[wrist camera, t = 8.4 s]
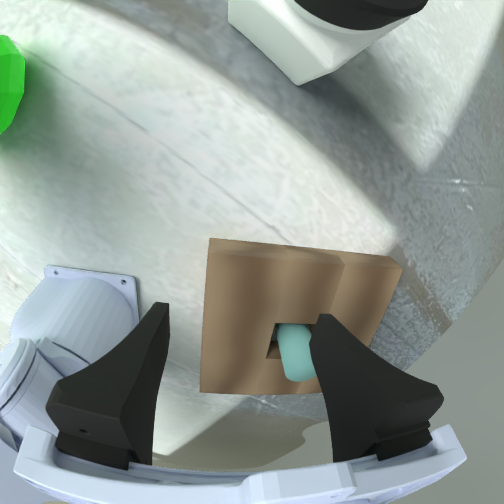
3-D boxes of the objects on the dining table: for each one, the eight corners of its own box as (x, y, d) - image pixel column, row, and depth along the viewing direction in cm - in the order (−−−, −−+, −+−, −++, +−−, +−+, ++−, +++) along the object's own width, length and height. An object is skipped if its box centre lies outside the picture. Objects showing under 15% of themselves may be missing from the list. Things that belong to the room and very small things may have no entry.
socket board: (200, 374, 29) (199, 392, 26) (209, 237, 22) (208, 252, 19) (337, 374, 31) (343, 390, 29) (389, 256, 24) (402, 269, 22)
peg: (272, 334, 27) (282, 382, 21) (275, 310, 25) (287, 358, 20) (302, 333, 27) (317, 379, 22) (307, 309, 26) (325, 355, 20)
